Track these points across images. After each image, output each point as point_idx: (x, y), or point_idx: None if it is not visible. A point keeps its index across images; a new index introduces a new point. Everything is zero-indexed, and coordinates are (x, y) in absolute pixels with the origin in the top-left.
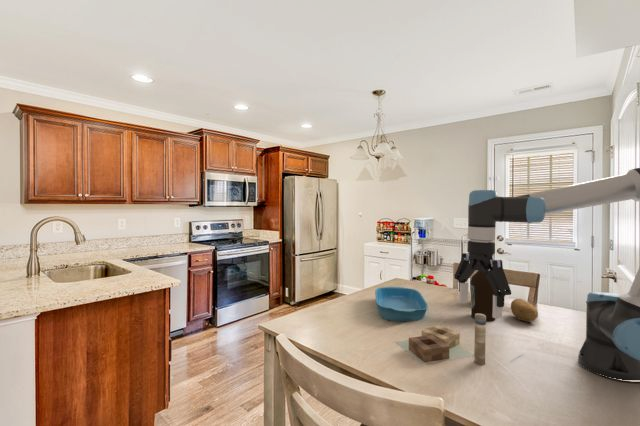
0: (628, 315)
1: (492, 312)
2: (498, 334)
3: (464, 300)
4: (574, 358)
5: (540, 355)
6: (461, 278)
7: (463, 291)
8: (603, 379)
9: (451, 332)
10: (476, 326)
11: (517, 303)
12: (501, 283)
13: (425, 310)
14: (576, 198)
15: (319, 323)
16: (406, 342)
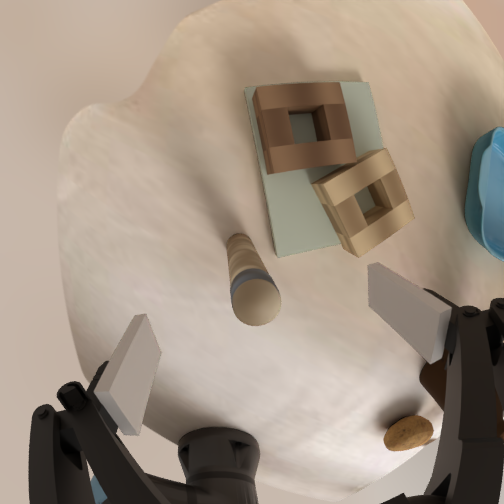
0: None
1: (429, 387)
2: (374, 367)
3: (374, 290)
4: (256, 432)
5: (275, 397)
6: (467, 332)
7: (403, 305)
8: (186, 426)
9: (365, 234)
10: (246, 266)
11: (419, 434)
12: (29, 462)
13: (480, 237)
14: None
15: (442, 11)
16: (365, 108)
